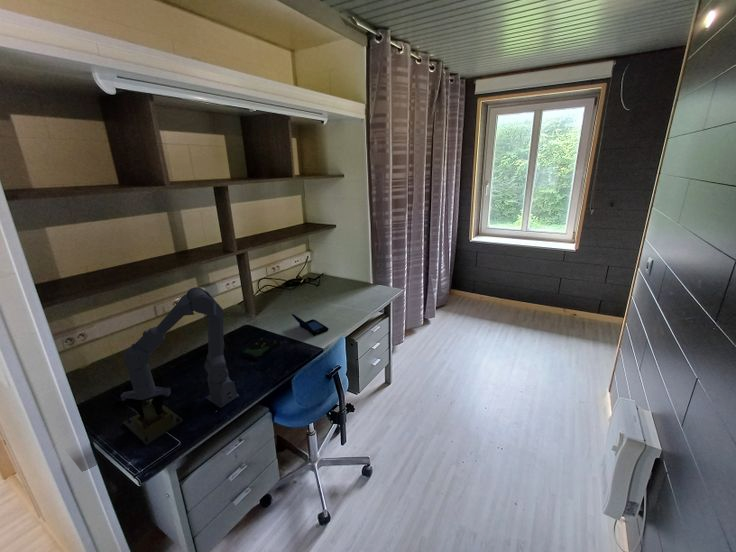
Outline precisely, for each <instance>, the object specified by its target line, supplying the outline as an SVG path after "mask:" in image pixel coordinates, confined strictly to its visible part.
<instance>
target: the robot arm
mask: <svg viewBox="0 0 736 552" xmlns="http://www.w3.org/2000/svg"><path fill="white" fill-rule="evenodd" d="M195 313H197V314H202V315H206V316H207V346H208V347H207V349H208V350H207V355H206V359H205V362H204V363H203V364H204V365H203V366H204V369H205V371H206V373H207V378H206V380H207V385H208V391H209V395H208V396H206V400H207V401H209V402H210V403H212V404H214V405H215V406H216V407H219V408H220V409H222V408H223V407H225V406H227V404H230V403H231V402H233V400H235V399H237V398H238V397H239V396H240V395H239V393H237V390H236V384H235V382H234V381H232V380H231V378H230V377H229V369H228V368H227V363H226V360H225V359H226V358H225V356H224V349H223V339H224V309H223V308H222V306H221V305H220V304H219V303H218V302H217V301H216V299H215V298H214V297H213V296H212V295H211V294H210V293H209V292H208V291H207V290H205V289H203V288H201V287H191V288H190V289H189V290H188V291H187V292H186V294H184V295H182V296H181V297H180V298H179V300H178V301H177V303H176V304H175V305H174V306H173V308H172V309H171V310H170V311H169V312H168V313H167V314H166V316H165V317H164V318H163V319H162V320H161V321H160V323H159V324H158V325H157V326H154V327H150V328H149V329H147V330H144V331H143V332H142V336H141V337H140V338H139V339H138V340H137V341H136V342H135V343H132V344H131V346H130V347H127V349H126V350H125V351H124V353H123V357H122V358H123V359H124V364H125V366H126V368H127V371H128V376H129V380H130V383H131V386H132V389H134V390H129V391H123V392H122V393H121V394H120V399H121V402H123V401H126V400H129V402H128V403H127V405H128V407H131V408H132V409H133V410H135V411H136V412H137V414H138V413H139V414H140V416H141V417H144V413H143V410H142V404H143V403H144V401H145V400H149V399H153V400H152V401H151V403H152V404H153V405H154V407H155V409H156V413H157V415H160V414H161V413H162V406H163V405H164V399H165V397H170V396H171V393H172V391H171V390H172V389H171V387H162V386H161V387H160V386H157V385H156V384H155V381H154V377H153V375H152V371H151V367H150V364H148V361H149V356H150V355H152V354H153V352H155V351H156V350H157V349H158V347H159V346H160V345H161V344H163V342H164V341H165V340H166V339H167V337H166V334H167V333H168V332H169V331H170V330H171V329H172V328H173V327H174V326H175V325H176V324H177V323H178V322H179V321H180V320H181V319H182V318H184V317H185V316H192V315H193V316H194V315H195ZM155 385H156V386H155Z"/></svg>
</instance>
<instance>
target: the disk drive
mask: <svg viewBox="0 0 736 552" xmlns="http://www.w3.org/2000/svg"><path fill="white" fill-rule="evenodd" d="M278 346H280V340H278V339H273V338H268V337H266V336H265V337H264V336H261V337H260V338H259V339H257V340H256V341H255V342H254V343H252V344H251V345H249V346H248V347H246V348H245V349H244V350H242V351H241V356H242V357H246V358H249V359H253V360H256V361H257V360H258V361H261V360H263V358H265V357H266V356H267V355H268V354H270V353H271V352H273V350H275V349H276V348H278Z"/></svg>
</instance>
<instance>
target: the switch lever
mask: <svg viewBox="0 0 736 552" xmlns="http://www.w3.org/2000/svg"><path fill="white" fill-rule="evenodd" d="M152 400H153V398H149V399H145V400H144V403H143V404H142V410H143V413H144V417H145V420H146V423H147V424H152V423H154V422H156V421H157V420H159V419H161V417H162V416H161V414H160V415H157V413H156V409H155V407H154V405H153V404H152V403H151V401H152Z"/></svg>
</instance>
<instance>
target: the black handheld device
mask: <svg viewBox="0 0 736 552" xmlns="http://www.w3.org/2000/svg"><path fill="white" fill-rule="evenodd" d="M291 316H292V317H293V319H295V321H296V322H297V323H298V324H299V327H301V328H303V329H304V330H305V331H308V333H309V334H311V335H312V336H314V337H316V336H317V335H318V336H319V335H321V334H323V333H326V332H328V331H329V330H330V329H329V327H328V326H326V325H324V324H323V323H321V322H320V321H318V320H316V319H309V320H307V321H304V320H303V319H302V318H300V317H298V316H297V315H295V314H293V313H292V314H291Z"/></svg>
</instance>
